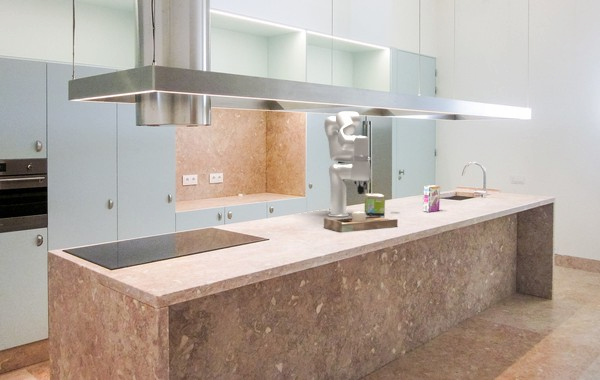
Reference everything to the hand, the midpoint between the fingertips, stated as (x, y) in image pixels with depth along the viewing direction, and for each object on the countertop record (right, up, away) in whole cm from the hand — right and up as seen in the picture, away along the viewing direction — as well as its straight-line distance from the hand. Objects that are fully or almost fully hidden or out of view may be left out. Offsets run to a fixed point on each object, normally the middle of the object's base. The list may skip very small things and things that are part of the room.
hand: (360, 193), depth 275 cm
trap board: (-1, -17, -7) cm, 19 cm away
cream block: (-1, -14, -5) cm, 15 cm away
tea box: (+10, -15, +17) cm, 25 cm away
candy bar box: (+52, -12, +54) cm, 76 cm away
